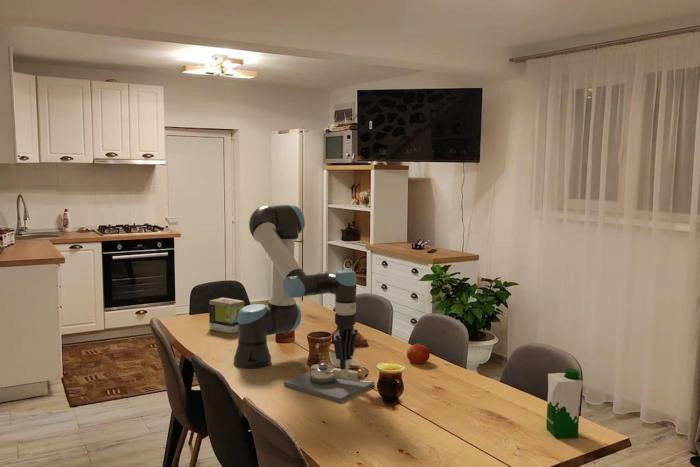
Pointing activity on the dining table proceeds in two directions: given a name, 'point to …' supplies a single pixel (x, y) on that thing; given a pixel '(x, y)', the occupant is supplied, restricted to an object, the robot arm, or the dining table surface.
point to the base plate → (329, 387)
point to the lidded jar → (333, 356)
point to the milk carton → (564, 403)
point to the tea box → (224, 314)
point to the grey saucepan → (332, 374)
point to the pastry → (359, 340)
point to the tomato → (418, 353)
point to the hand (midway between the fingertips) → (344, 376)
